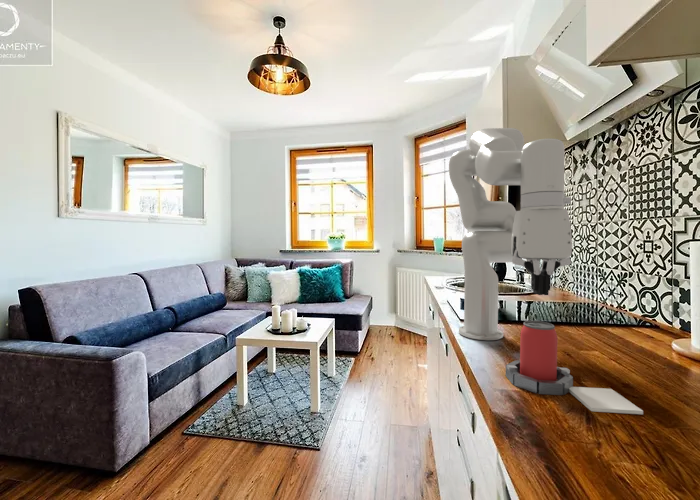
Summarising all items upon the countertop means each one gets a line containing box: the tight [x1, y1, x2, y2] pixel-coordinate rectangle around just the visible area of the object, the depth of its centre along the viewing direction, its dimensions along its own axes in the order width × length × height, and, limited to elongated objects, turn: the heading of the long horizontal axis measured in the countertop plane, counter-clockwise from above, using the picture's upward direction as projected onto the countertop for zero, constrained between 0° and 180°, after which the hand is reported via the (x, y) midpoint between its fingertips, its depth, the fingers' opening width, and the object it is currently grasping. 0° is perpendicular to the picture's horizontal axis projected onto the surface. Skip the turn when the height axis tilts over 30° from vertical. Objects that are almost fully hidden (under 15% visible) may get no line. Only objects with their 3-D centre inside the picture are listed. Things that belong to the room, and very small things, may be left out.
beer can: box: [519, 320, 558, 381], centre depth 66 cm, size 7×7×12 cm
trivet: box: [568, 386, 644, 415], centre depth 59 cm, size 8×8×1 cm
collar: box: [505, 359, 574, 396], centre depth 67 cm, size 11×12×3 cm
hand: (540, 293), depth 65 cm, fingers closed
